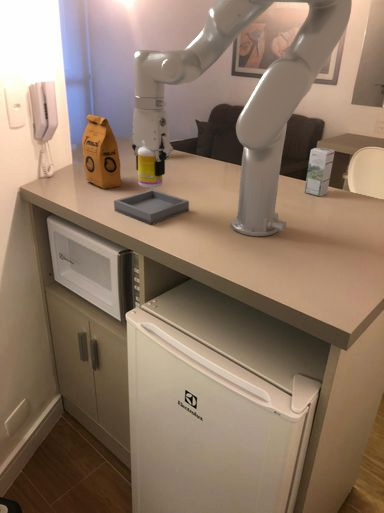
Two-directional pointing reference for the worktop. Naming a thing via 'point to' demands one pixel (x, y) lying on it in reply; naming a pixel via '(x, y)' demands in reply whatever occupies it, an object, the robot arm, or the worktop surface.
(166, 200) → the tray
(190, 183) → the worktop surface
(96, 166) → the coffee package
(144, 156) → the supplement bottle
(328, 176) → the syrup box
